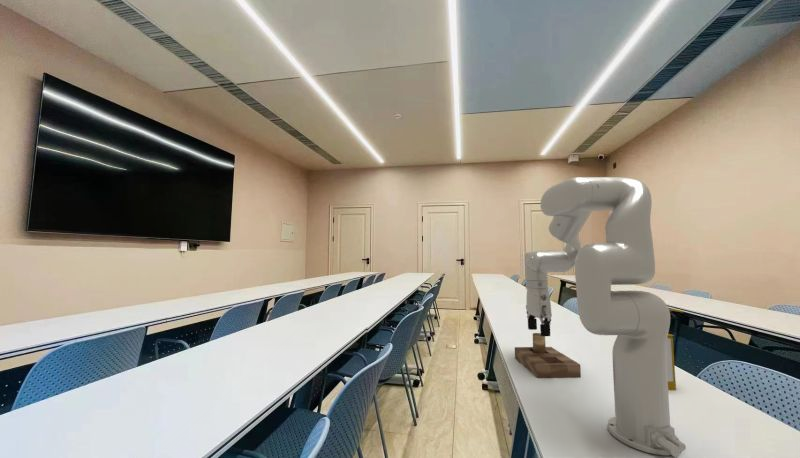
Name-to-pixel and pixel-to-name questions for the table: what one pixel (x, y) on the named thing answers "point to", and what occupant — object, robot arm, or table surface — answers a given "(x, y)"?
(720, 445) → the table surface
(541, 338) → the peg
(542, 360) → the board
